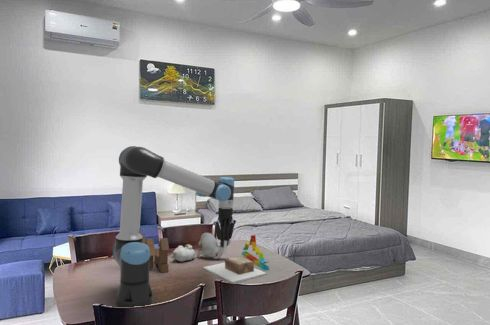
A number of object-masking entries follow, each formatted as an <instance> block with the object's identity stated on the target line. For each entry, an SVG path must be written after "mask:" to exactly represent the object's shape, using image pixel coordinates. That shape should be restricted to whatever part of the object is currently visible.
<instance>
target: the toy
mask: <svg viewBox="0 0 490 325" xmlns="http://www.w3.org/2000/svg"><path fill="white" fill-rule="evenodd" d="M217 240H218V239H217V237H215V236H214V234H212V233H211V232H204V233H203V232H202V234H200V238H199V241H198V243H197V246H198V247H199V248H200V247H201V249H199V250H198V252H197V254H196V258H197V259H198V258H199V257H200V255H202V256H203V257H207V256H208V257H209V256H211V257H212V259H214V260H218V259H219V258H221V257H222V256H223V255H224V254H223V253H221V247H220V245H218V241H217ZM230 243H231V239H229V241H228V246H229V245H231V244H230Z"/></svg>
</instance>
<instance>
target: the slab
mask: <svg viewBox="0 0 490 325" xmlns="http://www.w3.org/2000/svg"><path fill="white" fill-rule="evenodd" d="M224 263H225V269H228V270H230V271H232V272H234V273H236V274H238V275H240V274H244V273H248V272H252V271H254V268H255V263H254V261H251V260H249V259H248V258H246V257H245V256H240V255H239V256H233V257H229V258H228V257H227V258H225V260H224Z"/></svg>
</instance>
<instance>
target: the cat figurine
mask: <svg viewBox="0 0 490 325" xmlns="http://www.w3.org/2000/svg"><path fill="white" fill-rule="evenodd" d="M195 256H196V251H195V250H194V249H193V246H192V244H184V246H183V245H178V247H175V249H174V250H173V252H172V254H171V255H170V258H171V259H174V260H176V261H178V262H180V263H181V262H182V263H183V262H185V261H191V260H192V259H194V258H195Z"/></svg>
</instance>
